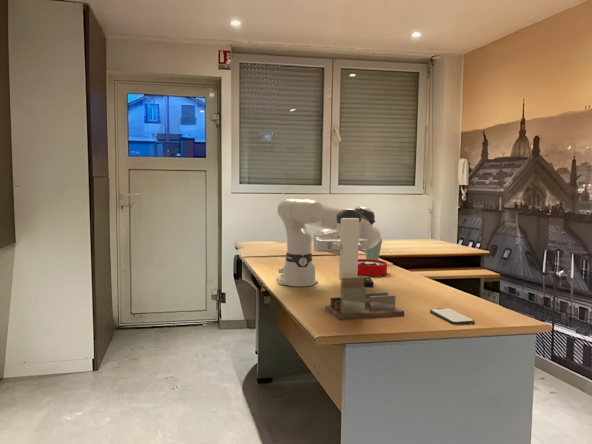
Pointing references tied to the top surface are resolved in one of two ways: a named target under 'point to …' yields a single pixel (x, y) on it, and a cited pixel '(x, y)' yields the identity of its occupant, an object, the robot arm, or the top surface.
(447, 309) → the smartphone
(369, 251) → the disposable coffee cup
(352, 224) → the cream rectangular board
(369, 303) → the rack
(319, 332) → the top surface
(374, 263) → the toy clock
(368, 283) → the disk drive
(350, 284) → the block
